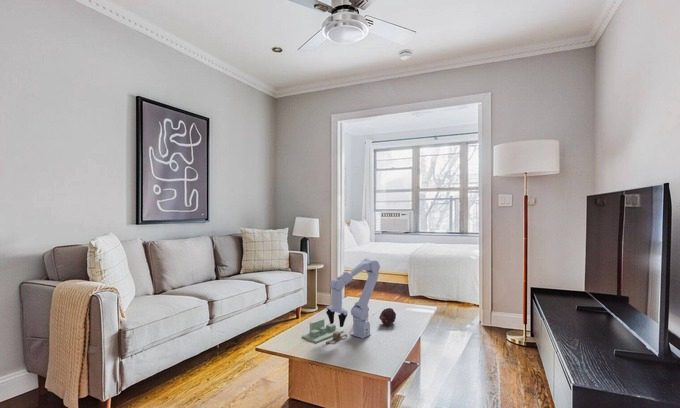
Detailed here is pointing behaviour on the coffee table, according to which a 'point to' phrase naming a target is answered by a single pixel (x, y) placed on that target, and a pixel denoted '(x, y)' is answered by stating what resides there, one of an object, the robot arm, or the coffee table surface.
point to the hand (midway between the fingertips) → (336, 325)
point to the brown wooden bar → (336, 337)
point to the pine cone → (388, 316)
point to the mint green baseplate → (320, 331)
